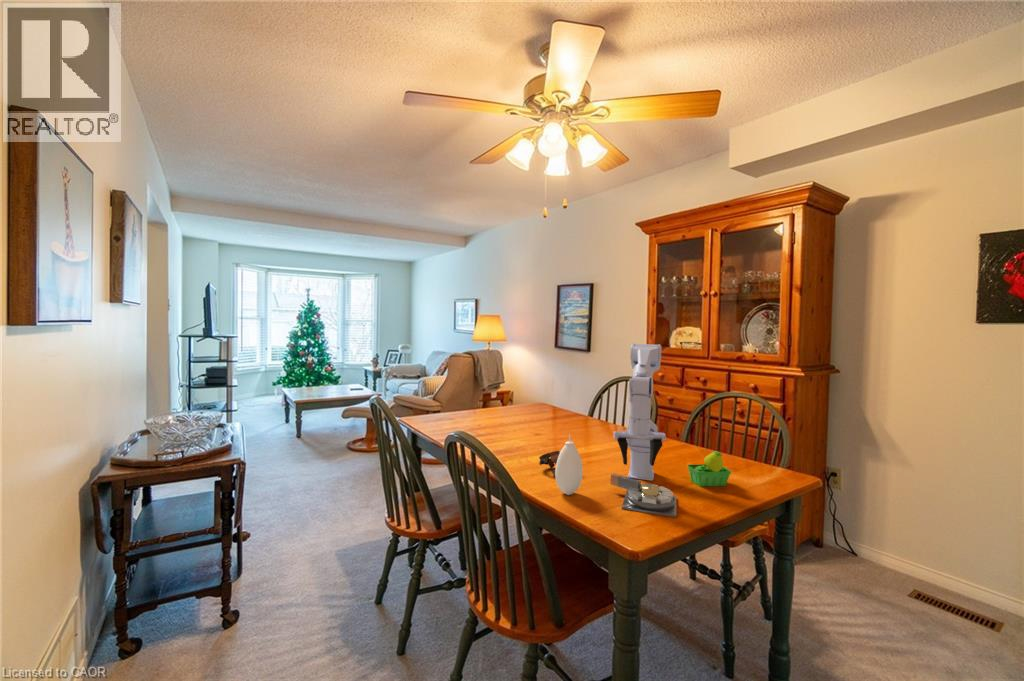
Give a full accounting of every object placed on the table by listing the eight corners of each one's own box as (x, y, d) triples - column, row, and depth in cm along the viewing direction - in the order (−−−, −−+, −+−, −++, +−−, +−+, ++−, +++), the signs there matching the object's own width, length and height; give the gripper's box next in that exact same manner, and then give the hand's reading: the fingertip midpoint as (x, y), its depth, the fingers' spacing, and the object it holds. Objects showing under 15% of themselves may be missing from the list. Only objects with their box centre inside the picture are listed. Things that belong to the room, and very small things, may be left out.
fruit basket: (717, 478, 150) (718, 445, 150) (734, 488, 141) (736, 452, 141) (685, 479, 148) (686, 445, 148) (700, 489, 140) (702, 453, 139)
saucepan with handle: (611, 482, 138) (611, 472, 137) (672, 491, 132) (673, 480, 131) (605, 496, 126) (605, 486, 126) (672, 506, 120) (673, 495, 120)
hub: (626, 491, 137) (627, 476, 137) (676, 498, 132) (676, 482, 132) (621, 508, 124) (622, 492, 124) (676, 517, 119) (676, 500, 119)
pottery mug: (545, 479, 147) (538, 454, 150) (542, 483, 156) (535, 459, 159) (580, 469, 149) (572, 444, 152) (575, 473, 157) (567, 450, 160)
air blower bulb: (574, 501, 128) (575, 438, 128) (550, 494, 133) (551, 433, 132) (586, 492, 135) (588, 433, 134) (563, 486, 139) (564, 428, 139)
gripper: (617, 420, 128) (615, 467, 128) (669, 421, 127) (667, 469, 128) (612, 414, 135) (611, 459, 135) (662, 416, 134) (660, 461, 135)
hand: (638, 464), depth 132 cm, fingers open, 7 cm apart
